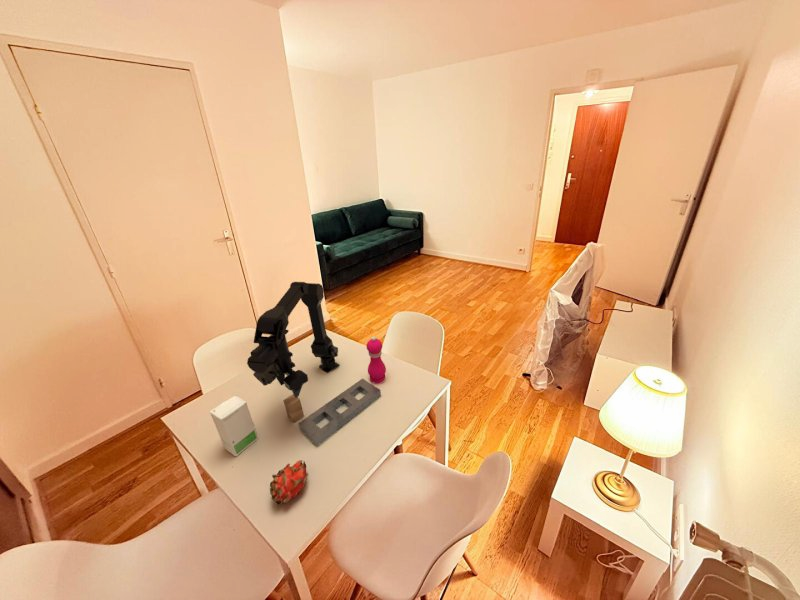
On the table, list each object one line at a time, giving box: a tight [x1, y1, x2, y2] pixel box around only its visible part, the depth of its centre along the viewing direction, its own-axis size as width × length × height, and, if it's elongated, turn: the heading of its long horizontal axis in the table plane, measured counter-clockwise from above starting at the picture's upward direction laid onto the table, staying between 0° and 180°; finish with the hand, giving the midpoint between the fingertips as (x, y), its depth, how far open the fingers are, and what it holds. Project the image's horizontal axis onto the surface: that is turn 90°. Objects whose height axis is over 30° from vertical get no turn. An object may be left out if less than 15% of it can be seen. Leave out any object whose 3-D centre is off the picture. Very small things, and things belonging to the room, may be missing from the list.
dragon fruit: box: [269, 459, 309, 506], centre depth 80 cm, size 8×8×12 cm
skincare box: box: [209, 395, 259, 457], centre depth 92 cm, size 8×7×16 cm
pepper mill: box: [366, 336, 387, 385], centre depth 116 cm, size 7×7×20 cm
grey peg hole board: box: [298, 378, 382, 447], centre depth 105 cm, size 10×28×3 cm, turn 138°
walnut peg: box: [283, 393, 305, 424], centre depth 102 cm, size 4×4×8 cm
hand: (289, 390), depth 99 cm, fingers open, 9 cm apart
